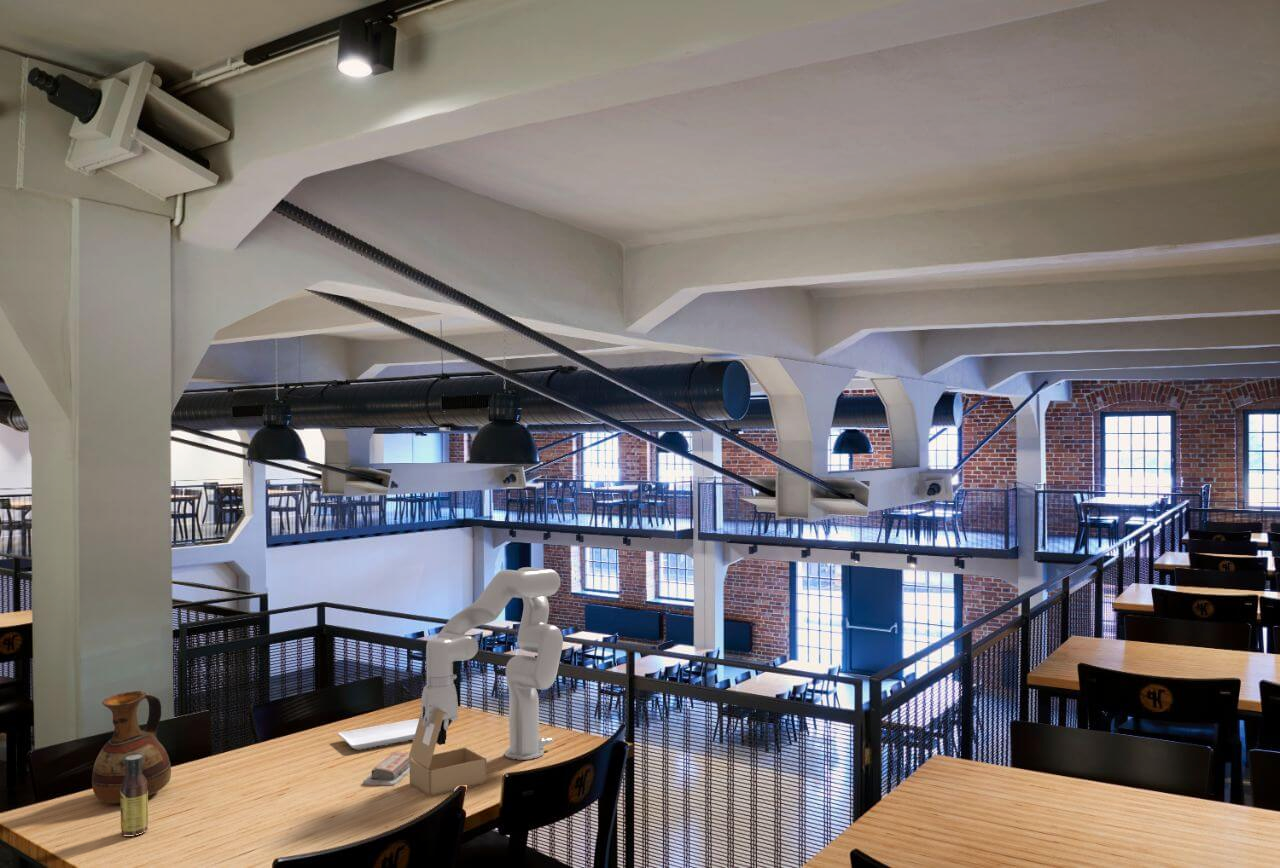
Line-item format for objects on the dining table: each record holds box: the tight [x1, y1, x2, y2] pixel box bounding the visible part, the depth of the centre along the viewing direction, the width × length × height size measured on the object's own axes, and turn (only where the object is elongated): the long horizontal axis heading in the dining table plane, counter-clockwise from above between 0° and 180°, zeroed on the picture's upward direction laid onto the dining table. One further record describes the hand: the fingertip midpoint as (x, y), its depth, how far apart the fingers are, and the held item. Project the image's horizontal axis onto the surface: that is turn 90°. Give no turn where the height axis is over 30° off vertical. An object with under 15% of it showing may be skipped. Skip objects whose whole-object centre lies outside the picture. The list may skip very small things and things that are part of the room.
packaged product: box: [362, 752, 412, 787], centre depth 283 cm, size 18×5×10 cm
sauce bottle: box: [120, 755, 149, 836], centre depth 241 cm, size 7×6×20 cm
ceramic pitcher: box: [91, 690, 172, 804], centre depth 269 cm, size 20×20×30 cm
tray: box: [337, 718, 419, 751], centre depth 319 cm, size 17×32×4 cm, turn 124°
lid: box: [409, 710, 448, 768], centre depth 272 cm, size 16×14×2 cm
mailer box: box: [409, 747, 488, 798], centre depth 275 cm, size 18×14×7 cm
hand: (440, 743), depth 274 cm, fingers closed
